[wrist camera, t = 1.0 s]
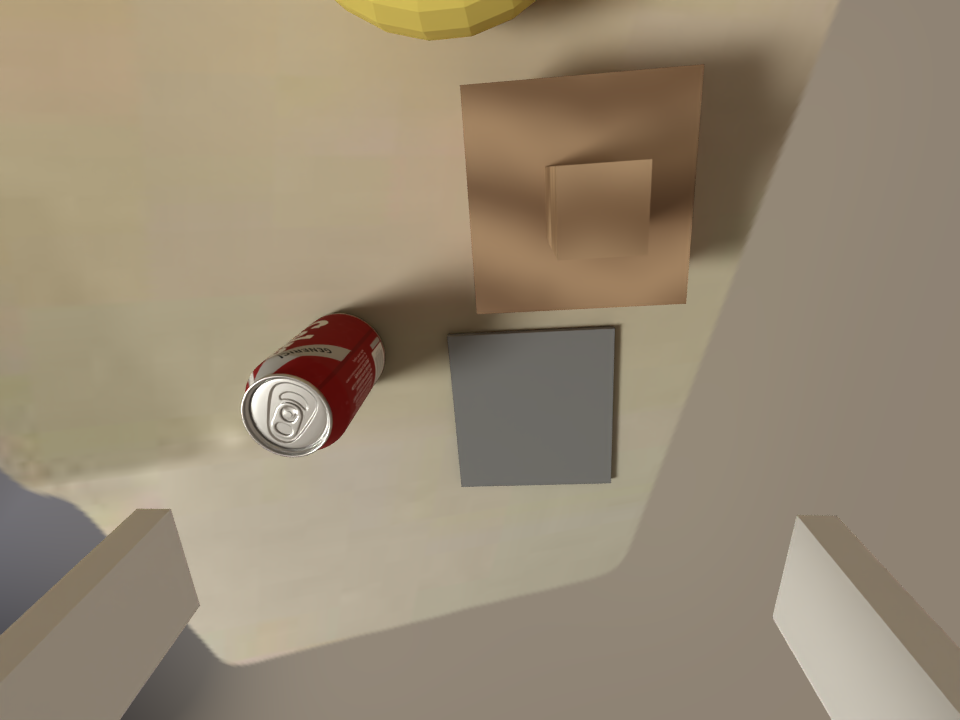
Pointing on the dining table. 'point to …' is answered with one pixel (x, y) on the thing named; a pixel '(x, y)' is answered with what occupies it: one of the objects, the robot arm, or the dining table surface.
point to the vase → (435, 15)
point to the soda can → (313, 386)
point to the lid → (582, 188)
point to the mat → (533, 406)
